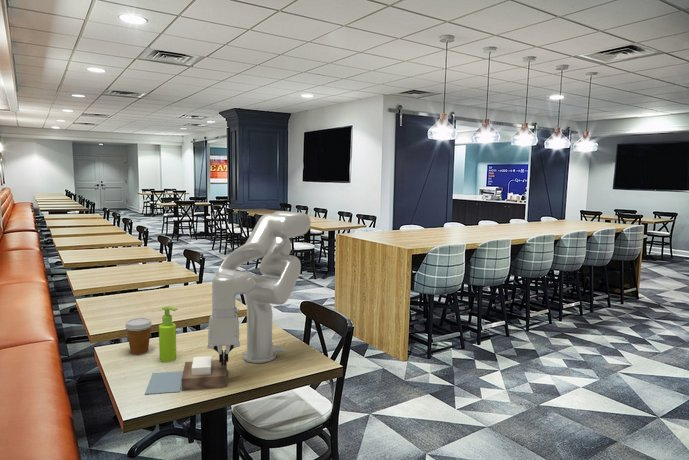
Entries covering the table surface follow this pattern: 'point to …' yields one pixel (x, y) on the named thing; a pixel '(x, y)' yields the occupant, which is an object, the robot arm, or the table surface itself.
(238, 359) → the table surface
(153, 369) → the table surface
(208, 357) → the tile
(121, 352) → the table surface
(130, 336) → the disposable coffee cup
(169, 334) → the soap dispenser
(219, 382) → the brown wooden block
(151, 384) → the mat
